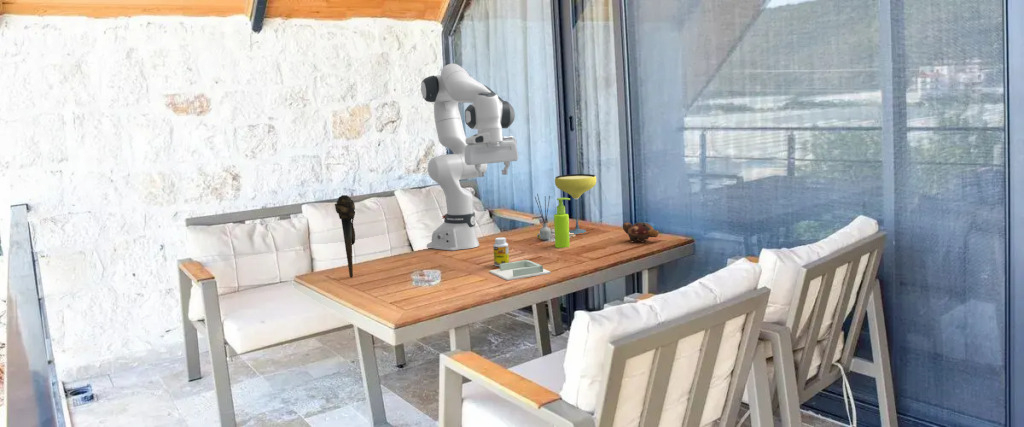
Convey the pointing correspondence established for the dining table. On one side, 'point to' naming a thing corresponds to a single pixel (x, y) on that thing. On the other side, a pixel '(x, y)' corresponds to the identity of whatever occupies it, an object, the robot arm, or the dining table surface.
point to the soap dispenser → (561, 225)
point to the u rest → (519, 270)
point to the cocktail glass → (575, 189)
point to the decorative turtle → (639, 231)
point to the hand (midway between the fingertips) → (493, 175)
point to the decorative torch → (347, 225)
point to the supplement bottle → (500, 251)
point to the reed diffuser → (544, 224)
